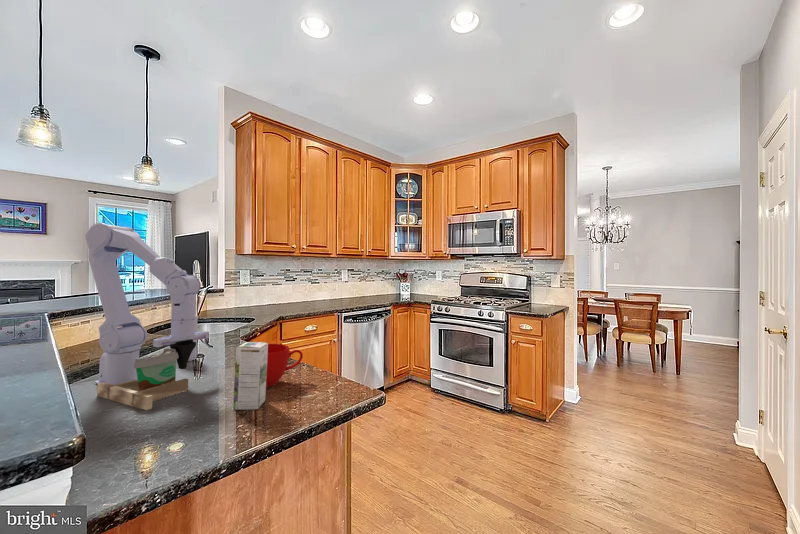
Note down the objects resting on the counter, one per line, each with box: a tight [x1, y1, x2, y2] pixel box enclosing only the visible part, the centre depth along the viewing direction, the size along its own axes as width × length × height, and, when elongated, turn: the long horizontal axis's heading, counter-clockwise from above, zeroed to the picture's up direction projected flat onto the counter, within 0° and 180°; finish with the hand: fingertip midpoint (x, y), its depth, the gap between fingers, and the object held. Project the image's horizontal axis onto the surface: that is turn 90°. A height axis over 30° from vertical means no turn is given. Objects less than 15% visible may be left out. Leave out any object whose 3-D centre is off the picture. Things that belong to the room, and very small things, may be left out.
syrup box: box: [232, 341, 269, 411], centre depth 84 cm, size 6×6×14 cm
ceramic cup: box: [266, 343, 304, 388], centre depth 101 cm, size 13×17×10 cm
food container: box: [134, 348, 179, 391], centre depth 91 cm, size 12×6×10 cm, turn 3°
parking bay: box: [96, 378, 189, 411], centre depth 89 cm, size 20×13×3 cm, turn 66°
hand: (182, 368), depth 97 cm, fingers closed
